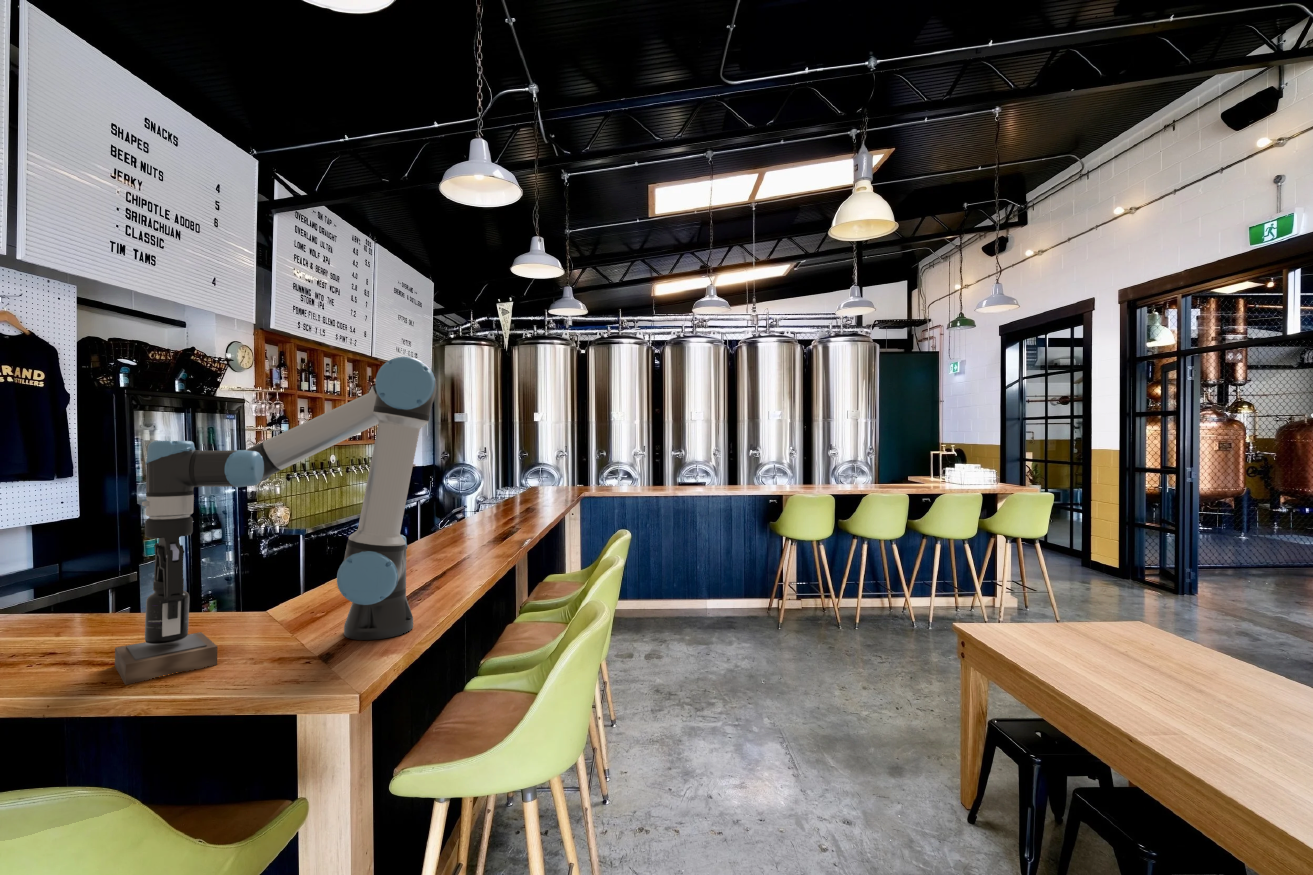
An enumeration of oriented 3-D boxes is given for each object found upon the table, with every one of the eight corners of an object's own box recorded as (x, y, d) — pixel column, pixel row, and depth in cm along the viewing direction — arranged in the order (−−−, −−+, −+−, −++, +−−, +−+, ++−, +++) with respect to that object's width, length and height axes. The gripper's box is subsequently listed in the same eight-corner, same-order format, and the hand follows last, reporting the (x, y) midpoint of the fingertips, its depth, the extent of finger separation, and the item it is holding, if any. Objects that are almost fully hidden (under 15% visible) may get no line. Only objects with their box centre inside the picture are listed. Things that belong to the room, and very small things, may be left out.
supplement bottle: (145, 647, 116) (146, 584, 116) (144, 638, 121) (145, 579, 121) (189, 639, 120) (190, 579, 121) (187, 632, 125) (188, 574, 126)
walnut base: (200, 649, 130) (201, 630, 131) (217, 664, 121) (217, 644, 121) (114, 666, 120) (115, 646, 120) (125, 684, 111) (125, 662, 111)
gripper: (137, 514, 125) (134, 624, 125) (154, 522, 112) (152, 646, 111) (182, 511, 131) (180, 617, 130) (204, 519, 117) (201, 636, 117)
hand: (167, 630), depth 121 cm, fingers open, 7 cm apart
